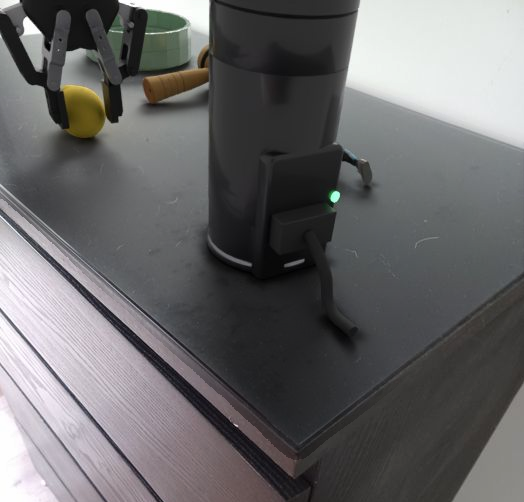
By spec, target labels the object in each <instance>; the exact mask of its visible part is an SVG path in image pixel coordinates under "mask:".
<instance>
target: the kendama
mask: <svg viewBox="0 0 524 502" xmlns="http://www.w3.org/2000/svg"><path fill="white" fill-rule="evenodd" d="M196 66H197V68H193V69H192V68H191V69H186V70H180V71H176V72H171V73H165V74H159V75H152V76H146V77H144V78H143V79H142V88H143V93H144V95H145V98H146V99H147V101H148V102H149V103H150V104H151V105H154V104H156V103H160V102H161V101H163V100H166V99H169V98H172V97H176V96H177V95H180V94H183V93H186V92H188V91H192V90H194V89H196V88H199V87H201V86H203V85H205V84H208V83H209V43H208V44H207V45H205V46H204V47H203V48H202V49H201V50H200V52H199V54H198V55H197V61H196Z"/></svg>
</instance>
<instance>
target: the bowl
mask: <svg viewBox="0 0 524 502" xmlns="http://www.w3.org/2000/svg"><path fill="white" fill-rule="evenodd" d="M142 8H143V9H144V10H146V12H147V14H148V20H147V26H146V31H145V37H144V43H143V49H142V54H141V60H140V66H139V72H155V71H163V70H169V69H172V68H175V67H179V66H181V65H185V64H186V63H188V62H189V61H190V60H191V58H192V23H191V21H190V19H188V18H187V17H185V16H183V15H180V14H178V13H174V12H171V11H166V10H161V9H152V8H144V7H142ZM123 30H124V27H122V26H121V24H120V17H119V14H117V16H116V18H115V20H114V22H113V24H112V26H111V28H110V30H109V32H108V34H107V38H108V40H109V43H110V45H111V48H112V50H113V53H114V56H115V61H116V62H117V61H119V56H120V50H121V43H122V37H123ZM85 55H86V56H87V57H88V58H89V59H90V60H91V61H92V62H94V63H95V62H96V63H98V61H97V59H96V57H95V55H94V53H93V52H92V50H87V49H85Z"/></svg>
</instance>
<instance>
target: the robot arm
mask: <svg viewBox="0 0 524 502" xmlns="http://www.w3.org/2000/svg"><path fill="white" fill-rule="evenodd" d="M208 3H209V4H208V44H209V82H208V150H207V151H208V162H207V163H208V165H207V166H208V168H207V169H208V173H207V174H208V175H207V178H208V181H207V183H208V185H207V187H208V188H207V189H208V191H207V192H208V193H207V196H208V197H207V199H208V224H207V228H206V243H207V246H208V248H209V250H210V251H211V253H212V254H213V255H214V256H215V257H216V258H217V259H219V260H220V261H221V262H223V263H225V264H226V265H228V266H231V267H234V268H235V269H238V270H242V271H246V272H249V273H251V274H253V275H254V276H255V277H256V279H258V280H264V279H268V278H272V277H276V276H278V275H282V274H285V273H286V274H287V273H289V272H293V271H296V270H297V271H298V270H300V269H304V268H306V267H310V266H313V265H315V266H316V270H317V272H318V276H319V281H320V299H321V305H322V308H323V311H324V312H325V314H326V316H327V318H328V320H330V321H331V322H332V323H333V324H334V326H335V327H337V328H338V329H340V330H341V331H342V332H343V333H345V334H346V335H347V336H348V337H354V336H356V334H357V333H358V331H359V327H357V326H356V325H355V324H354V323H353V322H352V321H351V320H350V319H348V318H347V317H345V316H344V315H343V314H342V313H341V312H340V311H339V309H338V308H337V306H336V303H335V300H334V281H333V273H332V270H331V266H330V264H329V261H328V258H327V255H326V251H327V246H328V244H329V243H331V242H332V239H333V233H334V229H335V223H336V218H337V210H336V209H335V208H334V207H335V203H336V202H337V201H338V200H339V199H340V196H341V195H340V192H339V191H337V190H338V185H339V180H340V174H341V168H342V162H343V161H342V158H343V152H344V149H343V148H344V146H343V145H342V144H341V143H339V142H337V138H338V132H339V126H340V122H341V115H342V108H343V104H344V97H345V92H346V87H347V86H346V85H347V79H348V74H349V73H348V72H349V67H350V62H351V57H352V50H353V45H354V39H355V34H356V27H357V22H358V15H359V9H360V7H361V6H360V5H361V0H208ZM143 8H144V7H142V6H140V5H139V4H136V3H134V2H131V3H127V2H125V1H120V0H19V1H18V2H17V3H14V4H12V5H9V6H7V7H4V8H1V7H0V38H2V41H3V42H4V45H5V46H6V48H7V50H8V52H9V55H10V56H11V58H12V59H13V63H14V64H15V66H16V67H17V69H18V71H19V73H20V75H21V76H22V78H23V79H24V80H25V82H26V83H27V84H28V85H30V86H38V87H42V88H43V90H44V95H45V100H46V104H47V105H46V106H47V110H48V115H49V117H50V119H52V121H53V122H54V124H55V125H58V126H59V127H60V129H61V130H64V131H65V129H70V126H69V120H68V114H67V109H66V103H65V97H64V92H63V90H62V89H61V84H62V76H63V75H62V74H63V68H64V67H65V64H66V57H67V52H68V53H69V52H74V51H77V50H79V49H82V50H86V49H87V50H92V52H93V53H94V55H95V57H96V59H97V61H98V62H97V64H98V66H99V68H100V71H101V73H102V76H103V79H101V80H100V83H101V90H102V97H103V98H102V99H103V105H104V107H105V114H106V119H107V120H108V122H109V123H110V124H119V123H120V122H119V121H120V119H119V118H120V117H123V113H124V106H123V105H124V104H123V94H122V83H123V81H124V80H126V79H127V78H130V77H132V78H134V77H136V76H138V74H139V72H140V71H139V66H140V60H141V54H142V49H143V43H144V37H145V31H146V26H147V20H148V14H147V12H146V10H144V9H145V8H144V9H143ZM117 14H119V17H120V24H121V26H122V27H124V30H123V37H122V43H121V50H120V56H119V61H117V62H116V61H115V56H114V53H113V50H112V48H111V45H110V43H109V40H108V38H107V34H108V32H109V30H110V28H111V26H112V24H113V22H114V20H115V18H116V16H117ZM26 18H27V19H29V21H30V22H31V23H32V24H33V25H34V26H35V27H36V29H37V30H38V31H39V32H40V33H41V34H42V41H41V57H42V58H41V66H40V67H41V68H39V67H35V65H34V63H33V61H32V59H31V57H30V56H29V54H28V52H27V49H26V48H25V46H24V44H23V43H24V42H22V39H21V37H22V36H23V35H24V34H25V27H24V20H25V19H26Z"/></svg>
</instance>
